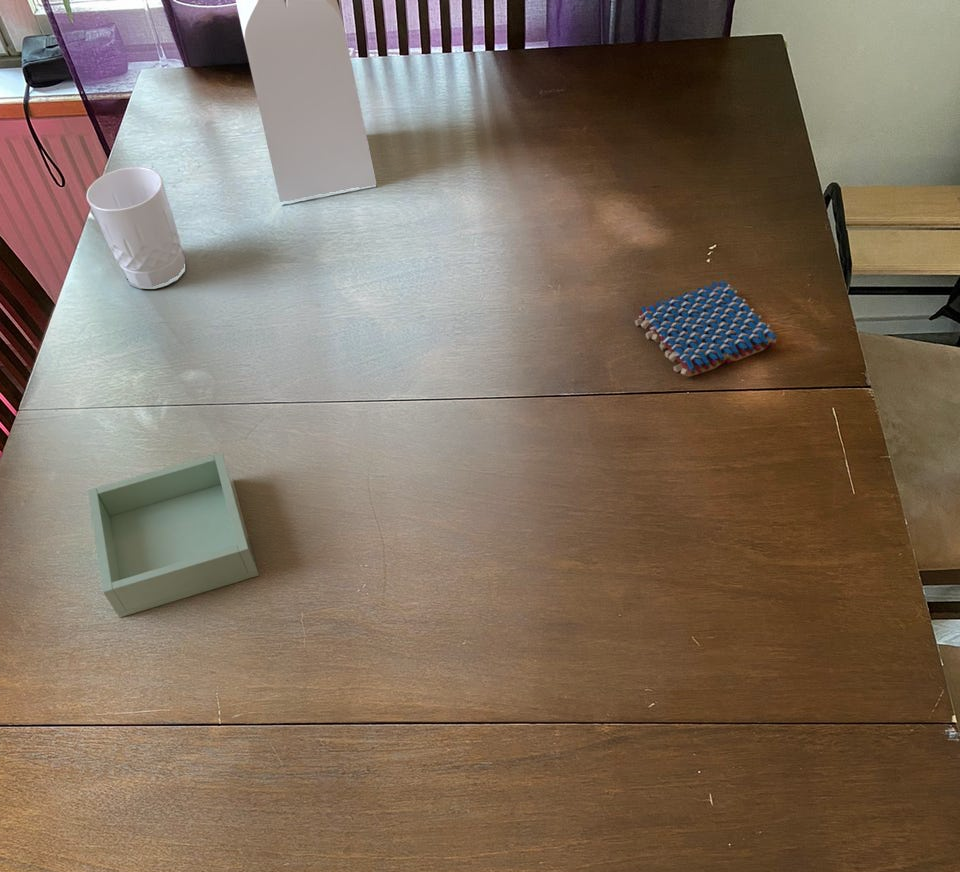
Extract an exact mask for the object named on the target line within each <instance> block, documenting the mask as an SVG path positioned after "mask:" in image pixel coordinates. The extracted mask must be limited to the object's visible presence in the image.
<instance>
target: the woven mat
mask: <svg viewBox="0 0 960 872" xmlns="http://www.w3.org/2000/svg"><path fill="white" fill-rule="evenodd" d="M710 285H711V286H708V285H707V286H704V287H703V289H702V286H701V287H700V286H699V287H698V288H697V289H696V290H692V291H690V292H689V293H688V291H685V292H684V293H682V294H683V295H676V296H675V298H674V296H671V297H669V298H668V300H662V301H661V303H660V301H659V300H658V301H656V302H655V304H654V305H648V306H647V308H646V306H641V308H640V310H638V319H635V320H634V322H635V326H637V327H638V326H641V328H643V329H644V330H647V329H648V330H649V331H647V332H646V333H645V338H646V339H647V340H652V341H654V342H656V343H660V344H659V348H660V350H661V351H665V352H664V356H665V358H666V359H668V360H669V361H670V362H672V363H674V362H676V363H677V362H678V363H679V364H676V365H674V366H673V371H674V372H676V373H678V372H680V375H682V376H684V377H689V378H690V377H694V376H697V375H700V374H702V373H706V372H709V371H711V370H715V369H716V368H718V367H719V366H721V365H722V364H730V363H732V362H737V361H740V360H742V359H746V358H747V357H749V356H752V355H754V354H757V353H761V352H762V351H764V350H765V349H767V348H775V347H776V343H777V336H776V334H775V333H774V332H773V330H772V329H770V328H771V325H770V324H768V325H767V324H766V322H762V321H761V320H760V319H762V315H759V316H758V313H756V312H753V311H755V309H754V308H750V307H749V304H748V303H745V302H746V301H747V300H746V299H745V298H742V297H740V296H736V294H737V292H738V291H737V290H735V291H734V288H733V287H731V285H730V283H728V284H727V283H726V282H725V281H718V282H716V281H714V282H711V284H710ZM661 304H662V305H661ZM666 349H667V350H666Z"/></svg>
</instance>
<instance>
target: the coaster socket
mask: <svg viewBox="0 0 960 872" xmlns="http://www.w3.org/2000/svg"><path fill="white" fill-rule="evenodd" d="M87 496H88V503H89V509H90V515H91V522H92V528H93V535H94V541H95V548H96V555H97V561H98V569H99V575H100V581H101V587H102V593H103V594H104V596H105V597H106V599H107V601H108V602H109V604H110V606H111V607H112V609H113V611H114V612H115V613H116V615H117V617H118V618H123V617H126V616H130V615H134V614H136V613H140V612H143V611H146V610H151V609H153V608H156V607H159V606H163V605H166V604H169V603H173V602H176V601H179V600H183V599H185V598H188V597H192V596H196V595H199V594H203V593H205V592H208V591H212V590H216V589H219V588H222V587H226V586H228V585H232V584H235V583H238V582H242V581H245V580H249V579H252V578H254V577H259V576H260V573H259V569H258V566H257V562H256V559H255V556H254V551H253V548H252V544H251V540H250V537H249V533H248V529H247V525H246V523H245V519H244V514H243V510H242V507H241V504H240V501H239V496H238V493H237V489H236V485H235V482H234V479H233V476H232V473H231V471H230V468H229V466H228V463H227V461H226V459H225V456H224V453H223V452H222V451H219V452H217V453H214V454H210V455H207V456H203V457H200V458H196V459H193V460H189V461H185V462H182V463H179V464H176V465H171V466H168V467H165V468H161V469H158V470H154V471H150V472H147V473H144V474H141V475H137V476H134V477H129V478H126V479H123V480H119V481H115V482H112V483H108V484H105V485H102V486H98V487H93V488H91V489H87Z"/></svg>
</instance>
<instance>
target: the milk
mask: <svg viewBox="0 0 960 872" xmlns="http://www.w3.org/2000/svg"><path fill="white" fill-rule="evenodd" d="M235 4H236V8H237V13H238V14H237V15H238V18H239V23H240V27H241V33H242V37H243V41H244V46H245V50H246V54H247V59H248V63H249V69H250V72H251V77H252V81H253V86H254V90H255V91H254V92H255V95H256V101H257V104H258V108H259V114H260V118H261V123H262V127H263V132H264V137H265V141H266V145H267V150H268V154H269V158H270V164H271V167H272V173H273V177H274V181H275V187H276V190H277V195H278V199H279V203H280V202H283V201H290V200H295V199H300V198H303V197H309V196H314V195H318V194H326V193H329V192H336V191H340V190H346V189H350V188H356V187H359V188H362V187H367V186H373V185H376V184H377V179H376V175H375V170H374V166H373V165H374V164H373V161H372V156H371V150H370V146H369V140H368V136H367V131H366V127H365V122H364V117H363V112H362V107H361V103H360V97H359V92H358V88H357V84H356V83H357V82H356V78H355V73H354V68H353V63H352V58H351V55H350V49H349V45H348V39H347V35H346V32H345V31H346V30H345V25H344V21H343V18H342V12H341V10H340V9H341V8H340V6H339V3H338V0H235Z"/></svg>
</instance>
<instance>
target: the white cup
mask: <svg viewBox="0 0 960 872" xmlns="http://www.w3.org/2000/svg"><path fill="white" fill-rule="evenodd" d="M85 197H86V201H87V203H88V205H89V207H90V209H91V211H92V213H93V215H94V218H95V219H96V221H97V224H98V225H99V228H100V230H101V232H102V234H103V237H104V238H105V241H106V242H107V245H108V246H109V248H110V251H111V252H112V254H113V256H114V258H115V261H116V262H117V263H118V265H119V266H120V269H121V271H122V274H123V275H124V277H125V279H126V278H127V279H128V280H127V279H126V280H127V282H128V281H129V282H131V283H134V284H136V285H138V286H145V287H146V286H147V287H153V286H156V285H159V284H162V283H166V282H168V281H169V280H170V279H172V278H174V277H176V276H178V275H179V273H180V272H181V270H182V269H183V268H184V264H185V260H186V258H185V254H184V250H183V247H182V244H181V239H180V235H179V234H180V233H179V232H178V228H177V224H176V220H175V217H174V213H173V210H172V207H171V204H170V200H169V197H168V195H167V190H166V187H165V184H164V181H163V177H162V176H161V174H160V173H159V172H157V171H156V170H153V169H152V168H148V167H144V166H143V167H142V166H130V167H123V168H118V169H116V170H112V171H110V172H107V173H105V174H103V175H101V176H100V177H98V178H97V179H95V180H94V181H93V182H92V183H91V185H90V186H89V187H88V189H87V191H86V196H85ZM129 282H128V283H129Z"/></svg>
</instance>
